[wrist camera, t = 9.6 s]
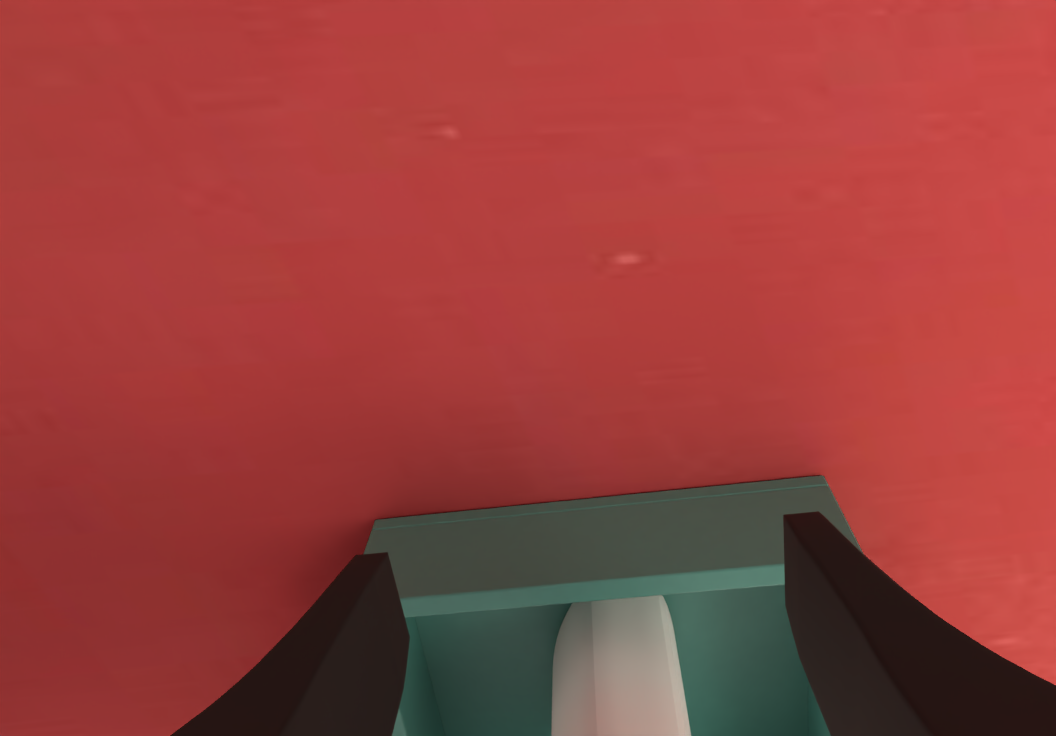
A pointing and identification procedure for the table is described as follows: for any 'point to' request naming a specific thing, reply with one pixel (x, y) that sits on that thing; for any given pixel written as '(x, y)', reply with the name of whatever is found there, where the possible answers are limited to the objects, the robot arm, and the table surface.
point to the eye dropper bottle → (618, 671)
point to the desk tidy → (603, 574)
